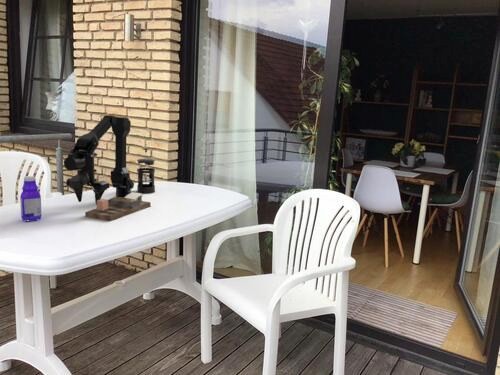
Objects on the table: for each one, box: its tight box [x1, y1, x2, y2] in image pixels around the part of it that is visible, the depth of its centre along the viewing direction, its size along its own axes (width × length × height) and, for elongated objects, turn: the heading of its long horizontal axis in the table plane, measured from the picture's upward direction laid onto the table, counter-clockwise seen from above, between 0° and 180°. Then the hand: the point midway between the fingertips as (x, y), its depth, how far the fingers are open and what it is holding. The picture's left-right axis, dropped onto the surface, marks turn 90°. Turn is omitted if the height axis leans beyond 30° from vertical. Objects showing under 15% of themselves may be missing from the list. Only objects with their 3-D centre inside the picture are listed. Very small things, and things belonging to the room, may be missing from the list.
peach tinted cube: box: [96, 198, 108, 210], centre depth 192 cm, size 3×4×4 cm
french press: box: [136, 147, 156, 195], centre depth 237 cm, size 12×9×23 cm
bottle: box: [19, 175, 42, 221], centre depth 179 cm, size 7×6×17 cm
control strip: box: [84, 194, 152, 222], centre depth 198 cm, size 13×28×5 cm, turn 158°
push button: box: [110, 196, 137, 203], centre depth 201 cm, size 11×4×2 cm, turn 68°
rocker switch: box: [124, 191, 144, 200], centre depth 207 cm, size 6×6×1 cm
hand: (88, 203), depth 194 cm, fingers open, 9 cm apart
